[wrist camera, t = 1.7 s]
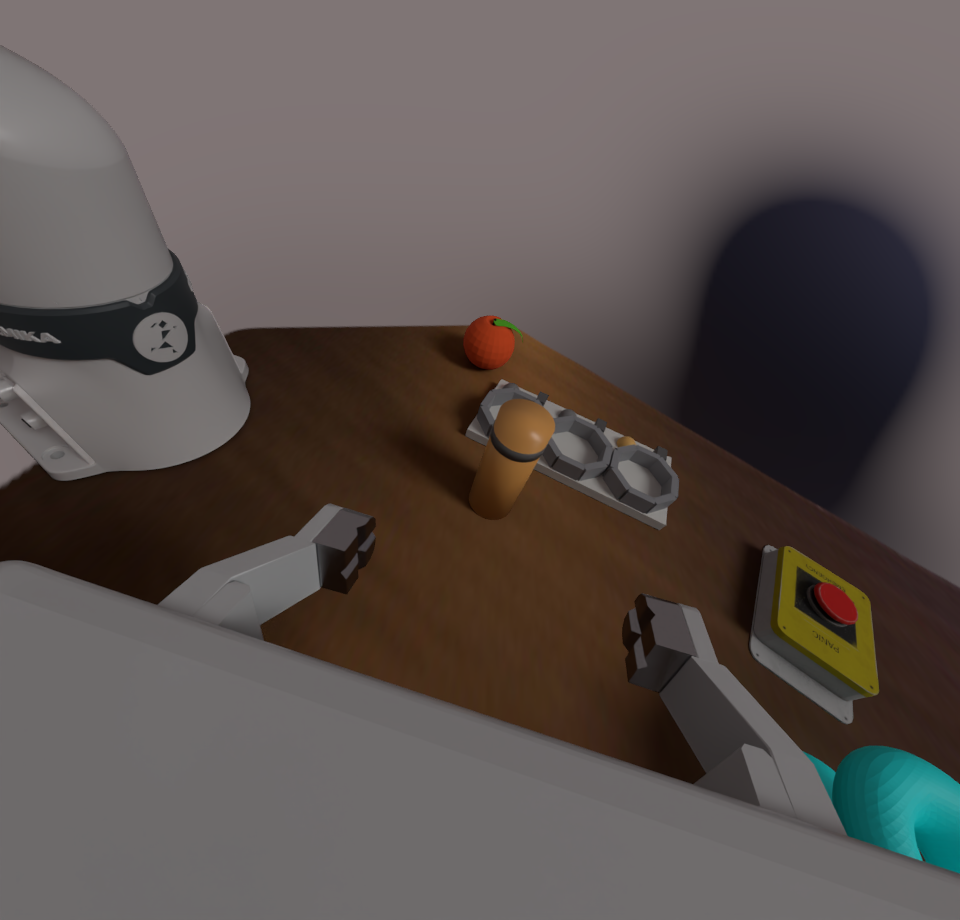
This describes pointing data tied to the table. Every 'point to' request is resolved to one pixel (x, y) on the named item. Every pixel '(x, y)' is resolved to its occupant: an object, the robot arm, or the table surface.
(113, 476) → the table surface
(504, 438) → the orange-brown tall cylinder
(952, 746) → the table surface
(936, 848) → the donuts
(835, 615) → the emergency button
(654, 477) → the grey piece
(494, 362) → the clementine
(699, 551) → the table surface
